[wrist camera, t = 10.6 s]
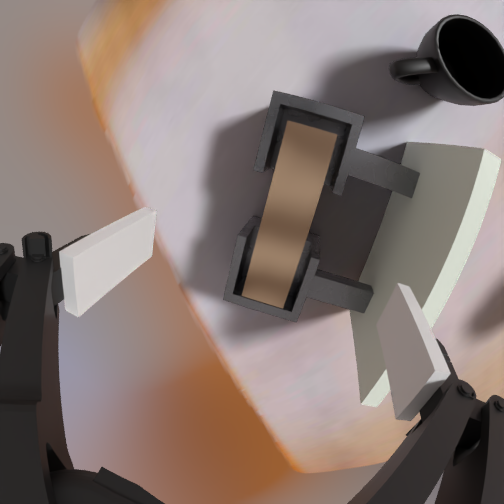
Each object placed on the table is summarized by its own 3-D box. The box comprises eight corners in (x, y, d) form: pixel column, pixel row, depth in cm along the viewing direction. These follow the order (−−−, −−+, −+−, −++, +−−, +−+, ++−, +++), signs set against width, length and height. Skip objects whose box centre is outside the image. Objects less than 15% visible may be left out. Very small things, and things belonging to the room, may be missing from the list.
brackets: (282, 101, 28) (273, 90, 22) (407, 141, 27) (430, 143, 20) (239, 270, 36) (222, 299, 30) (348, 303, 35) (353, 338, 28)
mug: (360, 49, 24) (377, 16, 15) (452, 40, 21) (490, 16, 12) (385, 120, 27) (413, 113, 18) (474, 106, 23) (521, 101, 14)
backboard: (407, 141, 27) (484, 148, 12) (419, 146, 27) (501, 159, 12) (348, 303, 35) (360, 404, 20) (359, 306, 35) (376, 407, 20)
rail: (291, 123, 26) (287, 120, 21) (333, 135, 26) (337, 134, 21) (252, 273, 32) (241, 295, 28) (287, 284, 32) (282, 308, 27)
